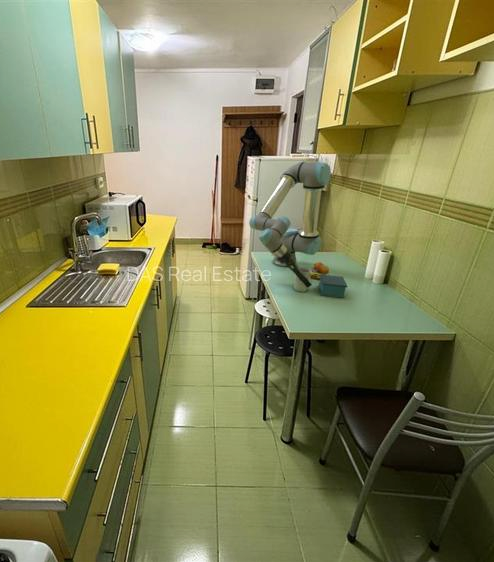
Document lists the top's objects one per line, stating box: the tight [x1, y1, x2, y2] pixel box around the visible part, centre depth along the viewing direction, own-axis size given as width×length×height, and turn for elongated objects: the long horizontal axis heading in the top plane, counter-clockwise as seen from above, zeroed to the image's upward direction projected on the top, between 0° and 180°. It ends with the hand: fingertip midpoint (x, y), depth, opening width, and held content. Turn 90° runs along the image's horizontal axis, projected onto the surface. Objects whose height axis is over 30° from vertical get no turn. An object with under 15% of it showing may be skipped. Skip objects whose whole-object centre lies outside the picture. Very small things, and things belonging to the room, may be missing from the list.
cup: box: [293, 267, 311, 292], centre depth 165 cm, size 7×7×11 cm
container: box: [318, 274, 348, 298], centre depth 163 cm, size 13×12×7 cm
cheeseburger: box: [309, 261, 330, 280], centre depth 182 cm, size 10×11×10 cm
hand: (307, 282), depth 166 cm, fingers closed on cup, 7 cm apart
